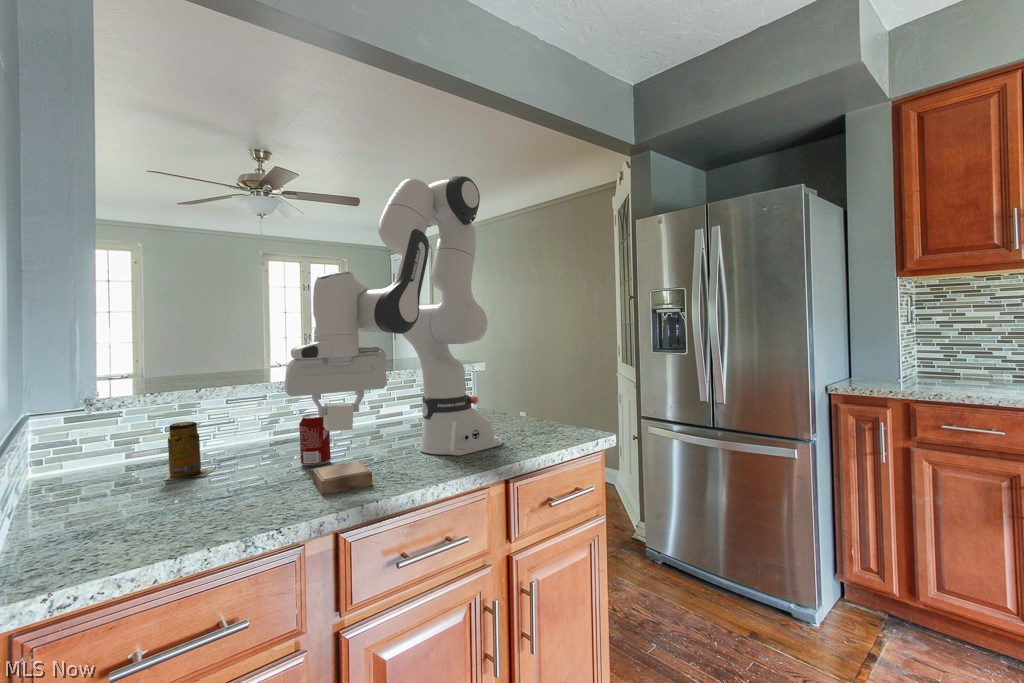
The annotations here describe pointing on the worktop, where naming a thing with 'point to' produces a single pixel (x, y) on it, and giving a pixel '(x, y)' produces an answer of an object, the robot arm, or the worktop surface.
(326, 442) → the soda can
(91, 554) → the worktop surface
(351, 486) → the plinth
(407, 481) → the worktop surface
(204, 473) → the condiment
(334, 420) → the cube
